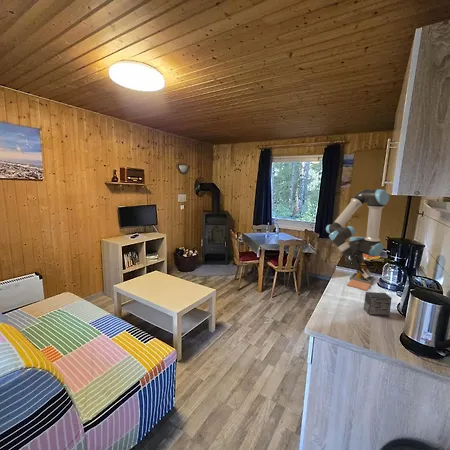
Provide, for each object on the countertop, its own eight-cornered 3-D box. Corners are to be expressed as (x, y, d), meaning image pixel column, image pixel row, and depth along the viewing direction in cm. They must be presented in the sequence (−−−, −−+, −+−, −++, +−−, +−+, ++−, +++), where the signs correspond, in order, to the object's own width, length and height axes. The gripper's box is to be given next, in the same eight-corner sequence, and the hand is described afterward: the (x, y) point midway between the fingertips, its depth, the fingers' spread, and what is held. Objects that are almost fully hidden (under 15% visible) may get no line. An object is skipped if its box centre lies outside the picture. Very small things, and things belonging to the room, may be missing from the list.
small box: (383, 310, 130) (385, 292, 129) (390, 316, 124) (392, 298, 122) (362, 308, 131) (365, 291, 130) (368, 315, 125) (371, 296, 123)
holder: (354, 274, 181) (354, 272, 180) (374, 279, 172) (374, 277, 172) (349, 279, 171) (349, 277, 171) (370, 285, 163) (370, 282, 162)
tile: (351, 280, 170) (351, 279, 170) (370, 285, 162) (370, 284, 162) (346, 285, 161) (346, 284, 161) (366, 291, 153) (366, 289, 153)
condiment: (353, 277, 176) (355, 262, 174) (365, 278, 175) (367, 262, 173) (358, 281, 168) (360, 265, 166) (370, 282, 168) (372, 265, 166)
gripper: (345, 249, 186) (366, 275, 178) (337, 254, 172) (360, 282, 164) (353, 244, 181) (375, 270, 173) (346, 248, 167) (369, 277, 159)
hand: (368, 275), depth 169 cm, fingers closed on condiment, 6 cm apart
